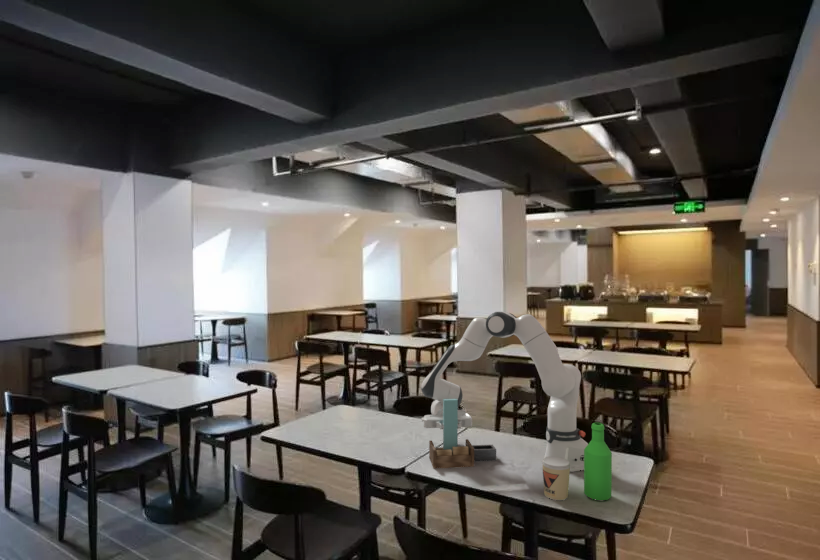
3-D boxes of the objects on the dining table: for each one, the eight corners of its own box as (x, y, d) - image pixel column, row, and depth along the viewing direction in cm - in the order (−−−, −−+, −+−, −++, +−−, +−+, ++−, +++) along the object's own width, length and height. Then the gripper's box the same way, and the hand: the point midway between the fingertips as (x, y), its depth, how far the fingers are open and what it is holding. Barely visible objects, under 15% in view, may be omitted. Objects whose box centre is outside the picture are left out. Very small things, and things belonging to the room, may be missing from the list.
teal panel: (456, 457, 199) (456, 398, 198) (457, 459, 197) (457, 400, 196) (443, 458, 198) (443, 399, 198) (444, 460, 196) (443, 400, 196)
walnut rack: (467, 459, 201) (467, 439, 201) (474, 470, 190) (474, 448, 190) (429, 461, 200) (429, 440, 200) (433, 472, 189) (433, 450, 189)
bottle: (586, 488, 174) (587, 418, 174) (613, 494, 170) (613, 422, 170) (581, 498, 167) (582, 425, 166) (608, 504, 162) (609, 429, 162)
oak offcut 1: (451, 463, 194) (451, 449, 194) (451, 464, 192) (451, 451, 192) (436, 463, 193) (436, 449, 193) (436, 465, 191) (436, 451, 191)
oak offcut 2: (467, 462, 195) (467, 446, 194) (468, 464, 193) (468, 447, 193) (452, 463, 194) (452, 446, 194) (453, 464, 192) (453, 448, 192)
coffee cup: (536, 492, 171) (536, 458, 171) (557, 487, 175) (557, 454, 175) (554, 504, 163) (554, 468, 162) (576, 498, 167) (576, 463, 166)
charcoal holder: (492, 459, 202) (492, 444, 202) (496, 464, 197) (496, 449, 197) (469, 459, 201) (469, 445, 201) (473, 465, 196) (473, 450, 196)
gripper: (420, 410, 209) (425, 420, 195) (467, 408, 211) (475, 418, 197) (420, 425, 209) (425, 435, 195) (467, 423, 211) (475, 433, 197)
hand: (450, 426), depth 196 cm, fingers closed on teal panel, 5 cm apart
